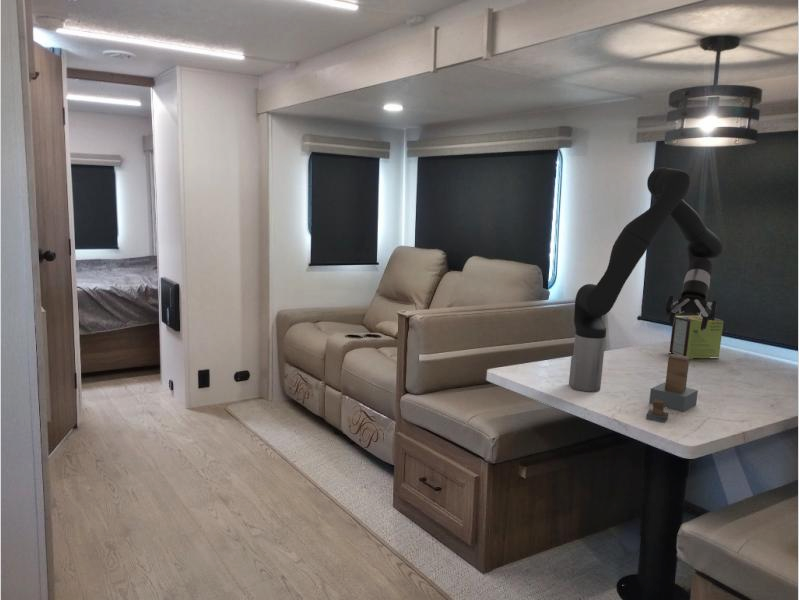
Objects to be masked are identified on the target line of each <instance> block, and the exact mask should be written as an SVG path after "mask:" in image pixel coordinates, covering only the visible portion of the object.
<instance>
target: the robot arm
mask: <svg viewBox="0 0 799 600" xmlns="http://www.w3.org/2000/svg"><path fill="white" fill-rule="evenodd" d="M646 184H647V185H646V187H647V189H648V191H649V193H650V195H652V196H653V198H654V199H655V201H654V202H653V204H652V205H651V206H650V207H649V208H648V209H646V210H645V211H644V212H643V213H641V214H639V215H638V216H636V217H635V218H633V219H632V220H631V221H630V222H628V223H627V224H626V225H624V227H623V229H622V231H621V232H620V233H619V235H618V236H617V238H616V240H615V241H614V244H613V246H612V248H611V251H610V256H609V261H608V265H607V268H606V270H605V271H604V274H603V276H602V277H601V278H600V279H599V281H598V282H597V284H593V283H586V284H584V285H582V286H581V287H580V288H579V289H578V290H577V292H576V294H575V295H576V296H575V301H574V315H573V318H574V319H573V323H574V328H575V333H574V334H575V335H574V344H573V355H571V357H570V367H569V379H568V384H569V386H570V387H571V388H572V389H573V390H576V391H582V392H590V391H593V392H599V391H601V385H602V376H603V368H604V367H603V364H604V357H605V355H604V354H605V346H606V339H607V338H606V336H607V328H606V326H605V325H604V322H603V316H605V315H607V314H608V313H609V312H610V311H611V310H612V308H613V307H614V305H615V303H616V302H617V299H619V298H618V297H619V296H620V294H621V291H622V290H623V287H624V286H625V284H626V282H627V280H628V279H629V277H630V275H631V274H632V272H633V271H634V269H635V268H636V266H637V264H638V263H639V261H640V260H641V258H643V256H644V254H645V253H646V252H647V250H648V248H649V246H651V243H652V242H653V240H654V239H655V237H656V236H657V234H658V232H659V230H660V229H661V228H662V227H663V225H664V223H666V221H667V219H669V217H671V218H672V220H673V221H674V223H675V224H676V226H677V227H678V229H679V230H680V232H681V233H682V236H683V238H684V239H685V241H687V242H689V243H688V244H687V245H686V251H687V258H688V259H687V260H688V265H687V266H688V267H687V271H686V275H685V277H684V279H683V280H684V281H683V284H682V288H681V293H680V297H679V298H676V297H674V296H672V295H670V296H668V299H667V300H668V301H667V303H666V306H665V309H664V310H665V315H666V316H669V320H668V324H669V325H670V327H672V326H674V322H675V318H676V317H675V316H679V315H681V314H682V313H685V314H689V313H691V314H693V315H696V314H698V316H700V317H702V318H703V319H702V323H701V330H704V329H706V327H707V322H708V321H709V320H712V321H714V320H715V318H716V312H717V304H718V303H717V301H716V300H713V301H711V302H710V301H707V299H708V293H709V290H710V284H711V277H712V270H713V263H712V261H711V260H710V259H716V258H717V257H720V256H721V254H722V253H723V243H722V241H721V239H720V238H719V237H718V236H717V235H716V234H715V233H714V232H712V231H711V230H710V229H709V228H707V226H706V225H705V223H704V222H703V220H702V218H701V216H700V215H699V214H698V212H697V211H696V210H695V209H694V208H693V207H691V205H689V204H688V203H687V202H686V201H685V200H684V199H683V198H684V197H686V195H687V192H688V190H689V189H690V186H691V176H690V174H689V173H688V172H687V171H685V170H682V169H676V168H675V169H674V168H671V167H670V168H669V167H657V168H655V169H653V170H652V171H651V172H650V174H649V175H648V177H647V181H646ZM676 303H677V305H676V306H675V307H674V308H673V306H674V305H675V304H676ZM707 307H708V309H709V310H710V313H709V314H708V312H707V311H706V309H705V308H707ZM672 308H673V309H672Z"/></svg>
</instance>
